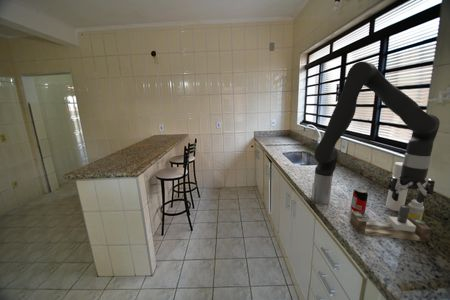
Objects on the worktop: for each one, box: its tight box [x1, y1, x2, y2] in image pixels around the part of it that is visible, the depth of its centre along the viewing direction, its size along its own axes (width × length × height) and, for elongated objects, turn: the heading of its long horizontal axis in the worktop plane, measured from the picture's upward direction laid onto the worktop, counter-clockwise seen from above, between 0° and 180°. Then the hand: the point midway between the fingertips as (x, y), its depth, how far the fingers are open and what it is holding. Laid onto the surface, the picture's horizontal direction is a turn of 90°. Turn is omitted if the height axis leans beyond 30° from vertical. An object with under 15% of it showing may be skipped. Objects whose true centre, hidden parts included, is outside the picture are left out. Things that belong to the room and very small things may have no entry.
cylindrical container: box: [385, 161, 409, 212], centre depth 100 cm, size 7×7×25 cm
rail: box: [349, 210, 432, 243], centre depth 84 cm, size 26×8×6 cm, turn 76°
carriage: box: [386, 204, 416, 232], centre depth 82 cm, size 7×6×10 cm
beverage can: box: [350, 187, 369, 214], centre depth 100 cm, size 6×6×12 cm
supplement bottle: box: [407, 199, 425, 221], centre depth 91 cm, size 6×6×10 cm
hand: (406, 201), depth 80 cm, fingers open, 8 cm apart
